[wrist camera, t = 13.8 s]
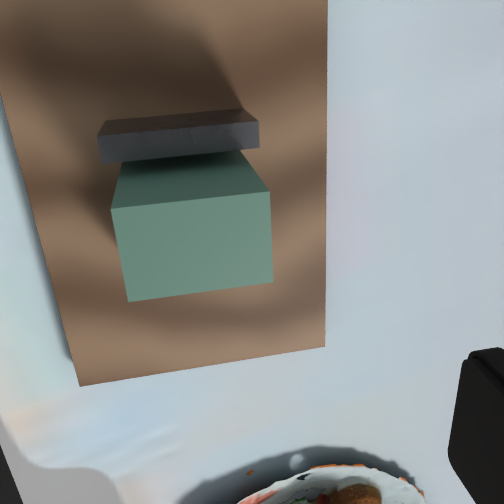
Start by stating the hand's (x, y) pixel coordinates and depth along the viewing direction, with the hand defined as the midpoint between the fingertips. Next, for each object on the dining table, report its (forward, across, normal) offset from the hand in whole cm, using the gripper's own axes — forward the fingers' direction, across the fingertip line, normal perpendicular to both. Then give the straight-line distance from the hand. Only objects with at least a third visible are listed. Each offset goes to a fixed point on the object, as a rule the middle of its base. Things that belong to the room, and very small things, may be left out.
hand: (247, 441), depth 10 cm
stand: (+20, 0, 0) cm, 20 cm away
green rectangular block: (+18, 0, 0) cm, 18 cm away
